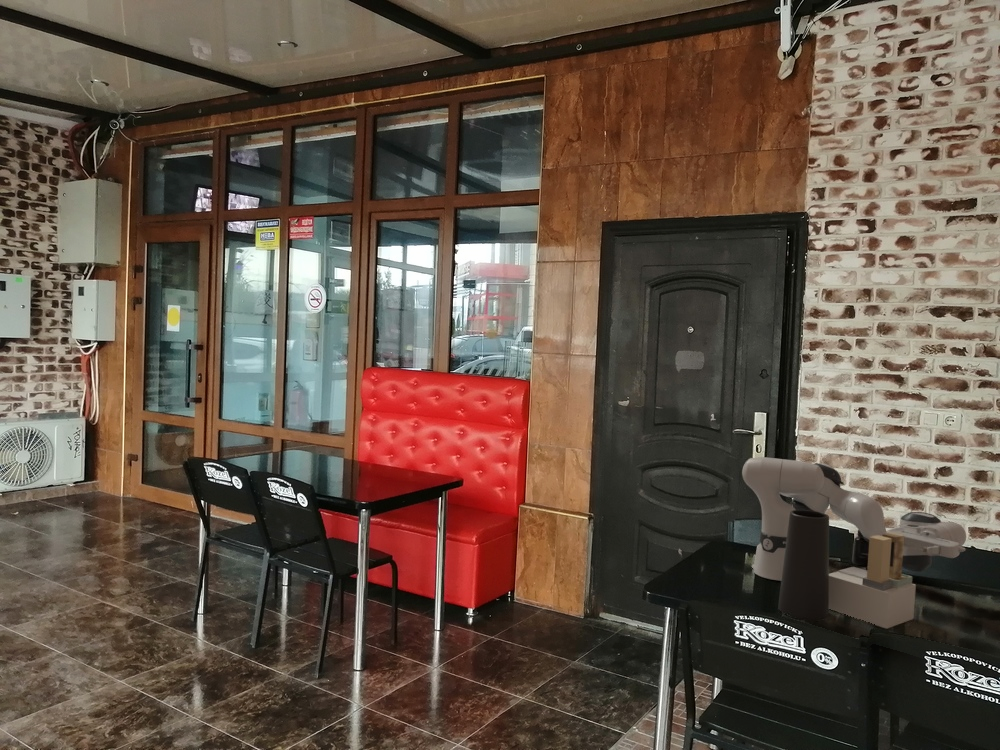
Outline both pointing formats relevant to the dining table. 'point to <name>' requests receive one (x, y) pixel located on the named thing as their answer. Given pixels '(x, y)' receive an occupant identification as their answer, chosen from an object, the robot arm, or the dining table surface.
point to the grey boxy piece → (873, 589)
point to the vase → (806, 566)
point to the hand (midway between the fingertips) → (909, 546)
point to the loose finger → (896, 555)
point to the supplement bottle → (860, 550)
